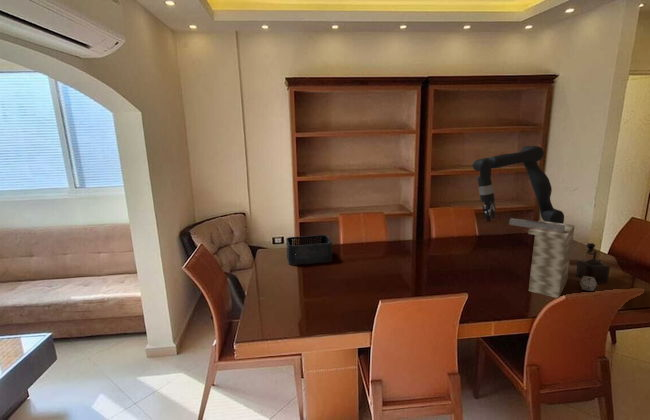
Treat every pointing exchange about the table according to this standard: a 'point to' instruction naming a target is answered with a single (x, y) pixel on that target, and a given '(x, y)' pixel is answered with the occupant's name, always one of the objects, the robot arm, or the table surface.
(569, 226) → the zigzag patterned box
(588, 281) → the game die
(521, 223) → the steel bar
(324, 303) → the table surface
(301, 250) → the storage bin
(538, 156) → the robot arm
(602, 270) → the black coffee grinder
